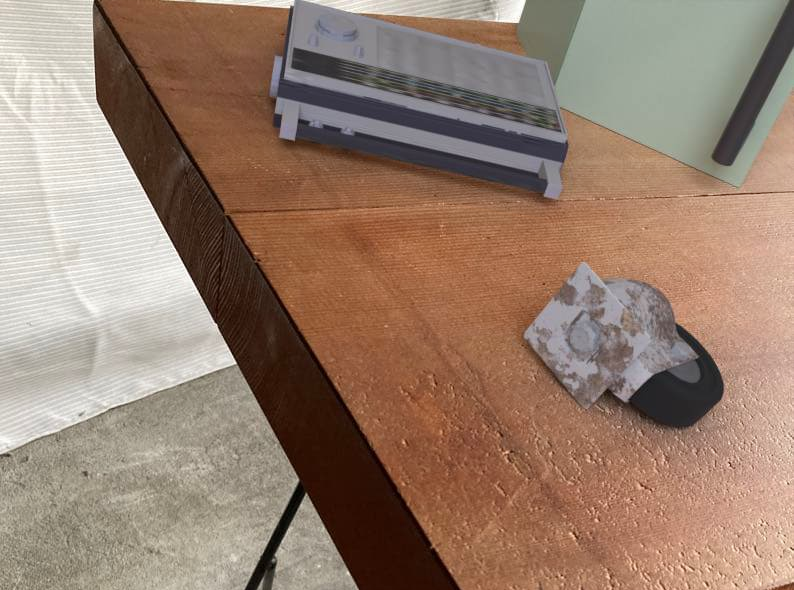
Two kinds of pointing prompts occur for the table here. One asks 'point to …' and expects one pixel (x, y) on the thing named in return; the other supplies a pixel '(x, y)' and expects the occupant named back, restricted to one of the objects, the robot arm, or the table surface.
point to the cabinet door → (683, 76)
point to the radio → (418, 99)
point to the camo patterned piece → (625, 348)
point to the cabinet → (548, 30)
